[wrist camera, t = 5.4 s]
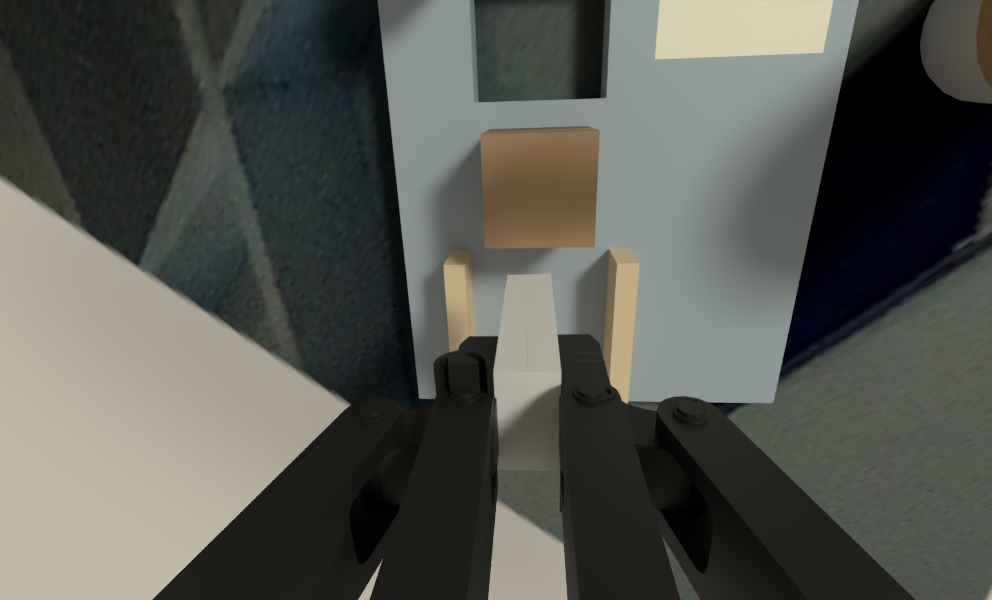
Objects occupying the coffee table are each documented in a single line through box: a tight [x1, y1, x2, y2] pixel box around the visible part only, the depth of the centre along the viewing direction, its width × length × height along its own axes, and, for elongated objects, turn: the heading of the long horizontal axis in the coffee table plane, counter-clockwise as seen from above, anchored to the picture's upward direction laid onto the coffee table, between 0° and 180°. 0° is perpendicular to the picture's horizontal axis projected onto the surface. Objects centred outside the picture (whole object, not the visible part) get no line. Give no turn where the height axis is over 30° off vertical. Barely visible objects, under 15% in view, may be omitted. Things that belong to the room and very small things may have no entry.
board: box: [378, 0, 859, 404], centre depth 23 cm, size 25×20×4 cm
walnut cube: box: [480, 126, 600, 249], centre depth 21 cm, size 4×4×4 cm
